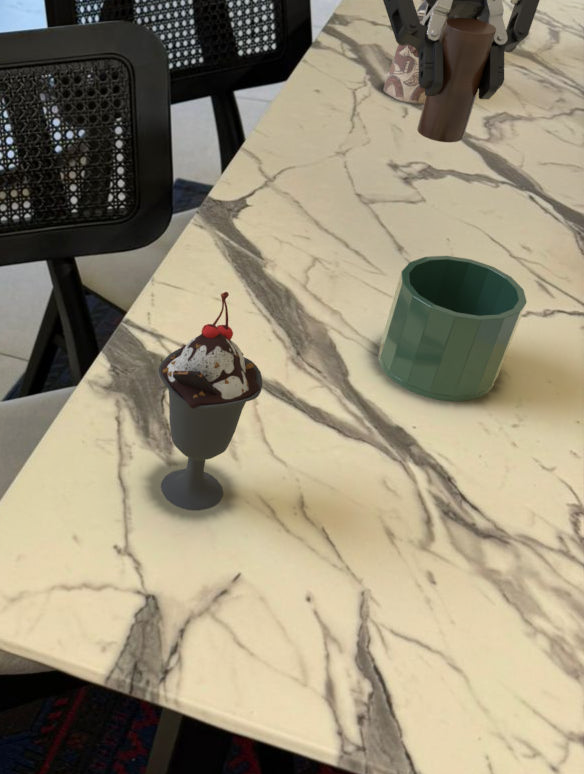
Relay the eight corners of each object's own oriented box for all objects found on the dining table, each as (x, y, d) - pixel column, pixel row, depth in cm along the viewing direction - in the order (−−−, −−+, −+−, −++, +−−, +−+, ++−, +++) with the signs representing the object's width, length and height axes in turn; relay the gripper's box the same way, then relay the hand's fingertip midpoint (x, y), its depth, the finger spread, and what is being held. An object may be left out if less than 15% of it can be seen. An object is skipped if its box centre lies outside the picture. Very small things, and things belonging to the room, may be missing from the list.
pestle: (469, 132, 90) (502, 25, 84) (454, 146, 87) (487, 37, 81) (426, 120, 91) (455, 14, 85) (410, 133, 88) (439, 25, 83)
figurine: (379, 99, 132) (403, 1, 124) (386, 81, 137) (409, -14, 130) (435, 109, 131) (463, 11, 123) (439, 91, 136) (467, -5, 128)
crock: (507, 364, 87) (539, 281, 82) (473, 419, 81) (506, 333, 76) (400, 325, 91) (425, 243, 85) (360, 375, 84) (384, 290, 79)
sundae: (212, 453, 75) (244, 273, 65) (254, 513, 71) (295, 329, 61) (129, 470, 73) (149, 287, 63) (167, 533, 69) (194, 346, 59)
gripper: (394, -141, 82) (393, 68, 80) (566, -128, 83) (567, 78, 81) (364, -83, 89) (362, 108, 88) (522, -73, 90) (523, 117, 89)
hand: (461, 92), depth 85 cm, fingers closed on pestle, 4 cm apart
